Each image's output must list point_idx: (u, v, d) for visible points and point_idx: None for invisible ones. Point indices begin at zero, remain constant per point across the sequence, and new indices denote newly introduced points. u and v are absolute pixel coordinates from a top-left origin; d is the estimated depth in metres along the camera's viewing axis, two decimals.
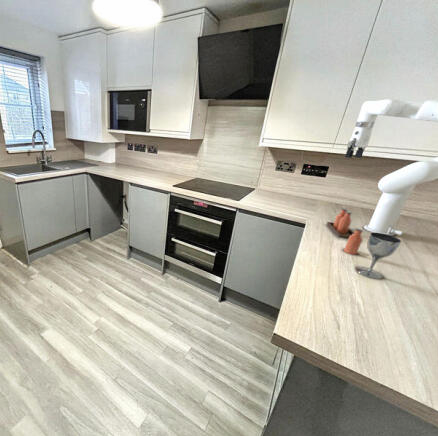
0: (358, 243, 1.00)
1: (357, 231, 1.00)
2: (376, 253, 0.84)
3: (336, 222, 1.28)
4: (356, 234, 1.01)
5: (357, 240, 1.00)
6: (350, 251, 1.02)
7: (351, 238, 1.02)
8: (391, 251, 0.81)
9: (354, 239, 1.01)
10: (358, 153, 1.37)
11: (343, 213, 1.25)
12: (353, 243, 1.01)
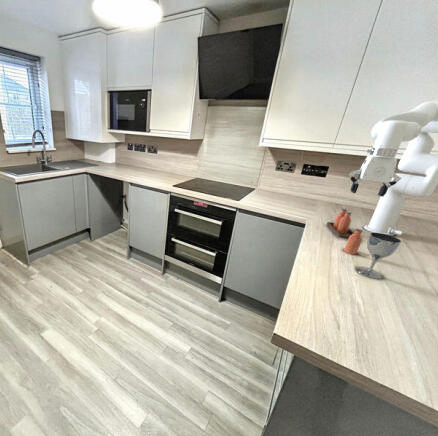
0: (358, 243, 1.00)
1: (357, 231, 1.00)
2: (376, 253, 0.84)
3: (336, 222, 1.28)
4: (356, 234, 1.01)
5: (357, 240, 1.00)
6: (350, 251, 1.02)
7: (351, 238, 1.02)
8: (391, 251, 0.81)
9: (354, 239, 1.01)
10: (381, 190, 0.99)
11: (343, 213, 1.25)
12: (353, 243, 1.01)
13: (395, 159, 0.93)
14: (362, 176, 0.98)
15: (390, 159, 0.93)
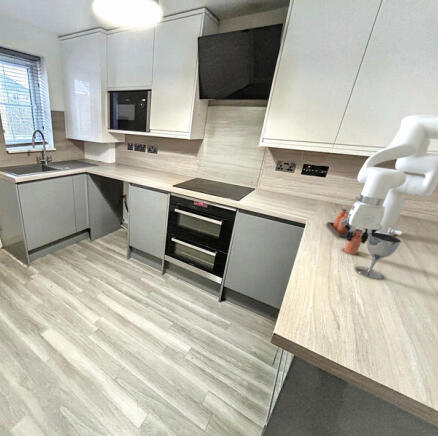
0: (358, 243, 1.00)
1: (357, 231, 1.00)
2: (376, 253, 0.84)
3: (336, 222, 1.28)
4: (356, 234, 1.01)
5: (357, 240, 1.00)
6: (350, 251, 1.02)
7: (351, 238, 1.02)
8: (391, 251, 0.81)
9: (354, 239, 1.01)
10: (362, 237, 1.01)
11: (343, 213, 1.25)
12: (353, 243, 1.01)
13: (383, 208, 0.93)
14: (351, 222, 0.98)
15: (378, 208, 0.93)
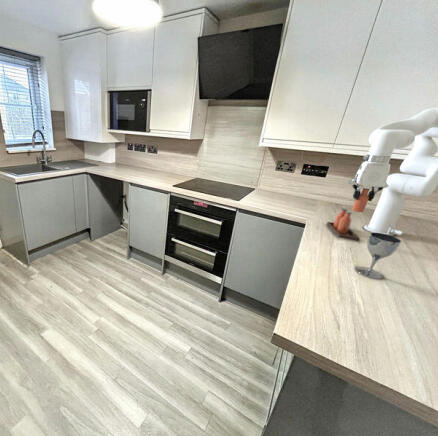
0: (365, 201, 1.07)
1: (364, 190, 1.07)
2: (376, 253, 0.84)
3: (336, 222, 1.28)
4: (363, 193, 1.08)
5: (364, 198, 1.07)
6: (358, 209, 1.10)
7: (359, 197, 1.09)
8: (391, 251, 0.81)
9: (361, 197, 1.08)
10: (369, 195, 1.08)
11: (343, 213, 1.25)
12: (360, 201, 1.08)
13: (388, 165, 1.00)
14: (358, 181, 1.06)
15: (384, 165, 1.01)
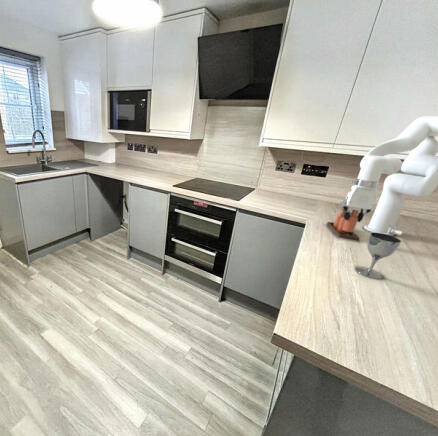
0: (354, 222, 1.14)
1: (354, 211, 1.14)
2: (376, 253, 0.84)
3: (336, 222, 1.28)
4: (353, 214, 1.14)
5: (354, 219, 1.14)
6: (347, 229, 1.16)
7: None
8: (391, 251, 0.81)
9: (351, 218, 1.14)
10: (358, 216, 1.15)
11: (343, 213, 1.25)
12: (350, 222, 1.15)
13: (376, 190, 1.07)
14: (348, 203, 1.12)
15: (371, 189, 1.07)
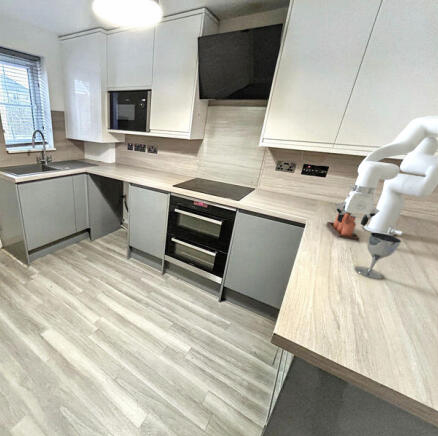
0: (352, 228, 1.15)
1: (351, 217, 1.15)
2: (376, 253, 0.84)
3: (336, 222, 1.28)
4: (350, 220, 1.16)
5: (351, 225, 1.15)
6: None
7: (346, 223, 1.16)
8: (391, 251, 0.81)
9: (349, 224, 1.16)
10: (363, 220, 1.15)
11: None
12: (347, 228, 1.16)
13: (373, 195, 1.08)
14: (346, 209, 1.13)
15: (369, 195, 1.08)
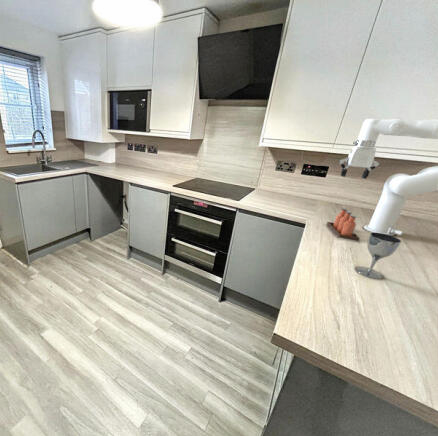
0: (352, 228, 1.15)
1: (351, 217, 1.15)
2: (376, 253, 0.84)
3: (336, 222, 1.28)
4: (350, 220, 1.16)
5: (351, 225, 1.15)
6: None
7: (346, 223, 1.16)
8: (391, 251, 0.81)
9: (349, 224, 1.16)
10: (364, 173, 1.26)
11: (343, 213, 1.25)
12: (347, 228, 1.16)
13: (374, 149, 1.19)
14: (350, 163, 1.24)
15: (370, 149, 1.20)
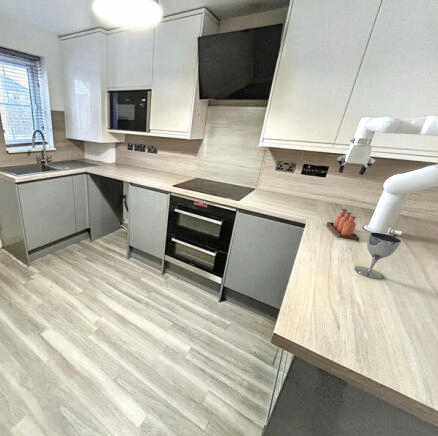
0: (352, 228, 1.15)
1: (351, 217, 1.15)
2: (376, 253, 0.84)
3: (336, 222, 1.28)
4: (350, 220, 1.16)
5: (351, 225, 1.15)
6: None
7: (346, 223, 1.16)
8: (391, 251, 0.81)
9: (349, 224, 1.16)
10: (361, 170, 1.32)
11: (343, 213, 1.25)
12: (347, 228, 1.16)
13: (370, 146, 1.25)
14: (346, 159, 1.30)
15: (366, 146, 1.25)
